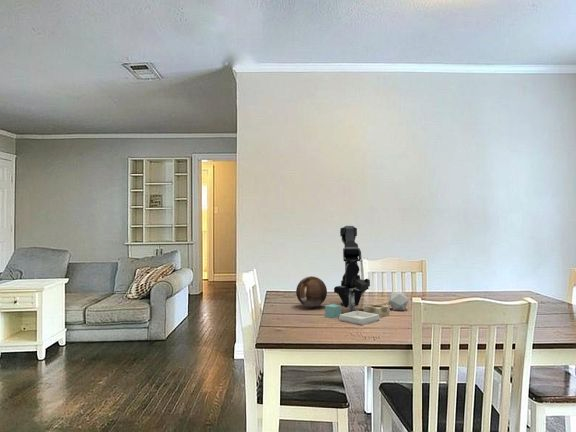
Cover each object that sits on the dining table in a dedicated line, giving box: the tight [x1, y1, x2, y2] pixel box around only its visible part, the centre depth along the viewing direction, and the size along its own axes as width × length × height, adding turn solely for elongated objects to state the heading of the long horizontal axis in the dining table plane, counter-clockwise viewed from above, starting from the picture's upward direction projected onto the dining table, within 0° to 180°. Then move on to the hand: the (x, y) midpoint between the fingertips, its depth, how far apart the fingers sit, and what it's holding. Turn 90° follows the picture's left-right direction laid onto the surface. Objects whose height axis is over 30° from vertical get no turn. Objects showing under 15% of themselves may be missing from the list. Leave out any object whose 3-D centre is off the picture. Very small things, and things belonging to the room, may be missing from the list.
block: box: [324, 303, 342, 319], centre depth 209 cm, size 5×5×5 cm
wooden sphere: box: [295, 276, 328, 308], centre depth 230 cm, size 15×15×15 cm
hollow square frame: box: [363, 303, 390, 319], centre depth 212 cm, size 8×8×4 cm
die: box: [387, 291, 409, 311], centre depth 223 cm, size 8×9×10 cm
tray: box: [338, 310, 380, 326], centre depth 201 cm, size 12×12×2 cm
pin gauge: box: [348, 292, 356, 312], centre depth 218 cm, size 3×3×9 cm
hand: (351, 306), depth 218 cm, fingers open, 8 cm apart
